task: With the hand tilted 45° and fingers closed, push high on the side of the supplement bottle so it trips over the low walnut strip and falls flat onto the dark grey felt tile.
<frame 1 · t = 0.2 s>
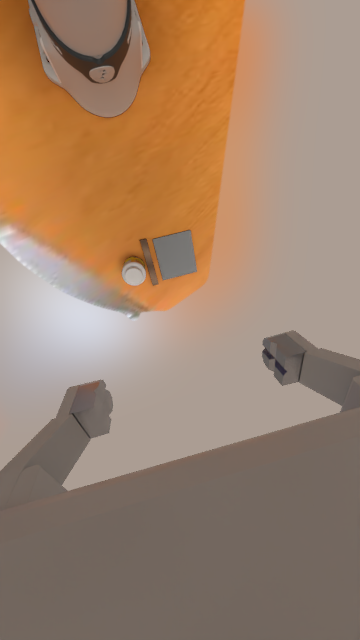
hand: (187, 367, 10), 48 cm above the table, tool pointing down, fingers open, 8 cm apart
supplement bottle: (134, 266, 54), on the table
felt tile: (175, 255, 54), on the table
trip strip: (149, 262, 54), on the table
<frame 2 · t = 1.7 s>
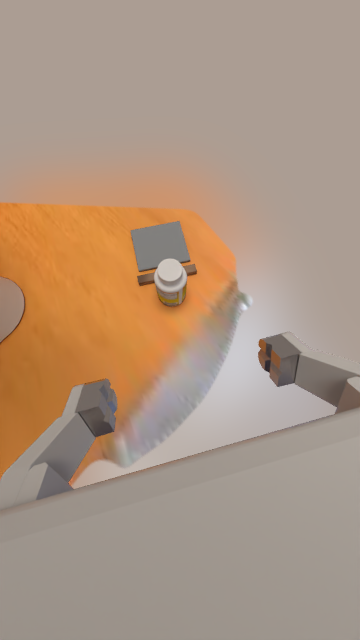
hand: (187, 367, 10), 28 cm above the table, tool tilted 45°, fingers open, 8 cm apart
supplement bottle: (171, 294, 41), on the table
felt tile: (160, 246, 43), on the table
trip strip: (167, 276, 42), on the table
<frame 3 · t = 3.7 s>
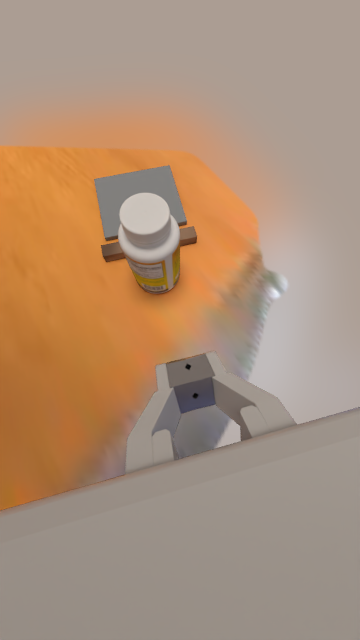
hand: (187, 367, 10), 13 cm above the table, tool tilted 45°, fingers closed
supplement bottle: (157, 275, 25), on the table
felt tile: (139, 203, 28), on the table
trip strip: (150, 246, 26), on the table
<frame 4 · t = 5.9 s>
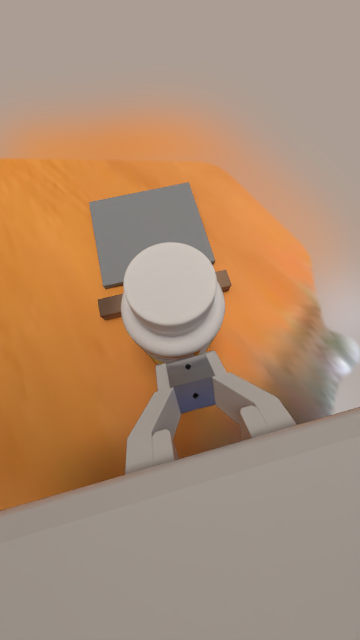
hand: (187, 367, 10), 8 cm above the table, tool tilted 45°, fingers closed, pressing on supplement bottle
supplement bottle: (176, 339, 18), on the table, touching gripper
felt tile: (150, 234, 21), on the table
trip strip: (166, 297, 19), on the table
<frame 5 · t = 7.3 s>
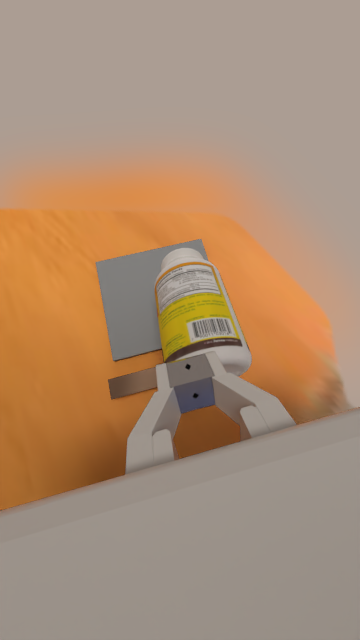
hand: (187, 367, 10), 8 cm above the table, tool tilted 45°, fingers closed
supplement bottle: (211, 380, 12), point 6 cm above the table, touching gripper
felt tile: (161, 296, 20), on the table
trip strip: (180, 370, 18), on the table
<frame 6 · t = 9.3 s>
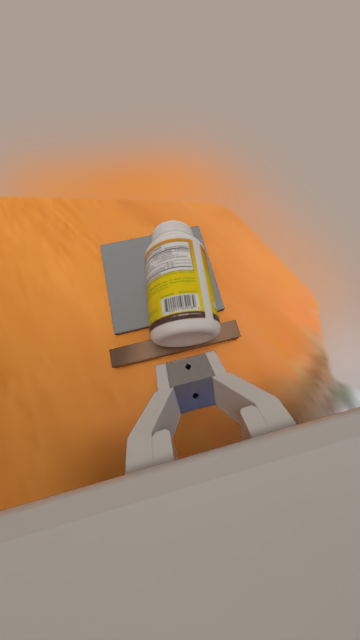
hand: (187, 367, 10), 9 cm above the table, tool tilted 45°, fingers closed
supplement bottle: (186, 343, 15), point 4 cm above the table, touching felt tile, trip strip
felt tile: (160, 278, 21), on the table
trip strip: (176, 344, 19), on the table
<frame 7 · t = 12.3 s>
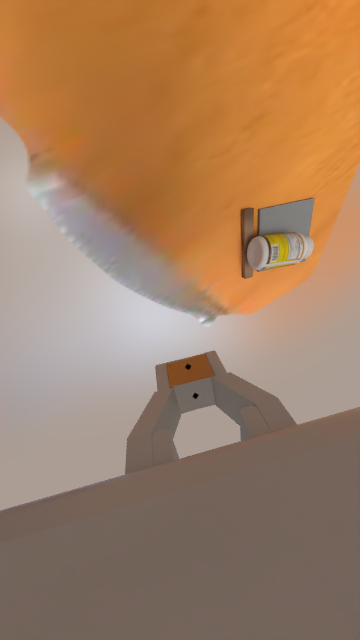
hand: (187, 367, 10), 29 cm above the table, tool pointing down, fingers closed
supplement bottle: (253, 253, 34), point 4 cm above the table, touching felt tile, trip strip
felt tile: (282, 236, 38), on the table
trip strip: (245, 245, 37), on the table
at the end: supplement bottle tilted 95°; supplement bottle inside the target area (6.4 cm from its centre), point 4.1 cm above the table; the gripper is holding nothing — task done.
